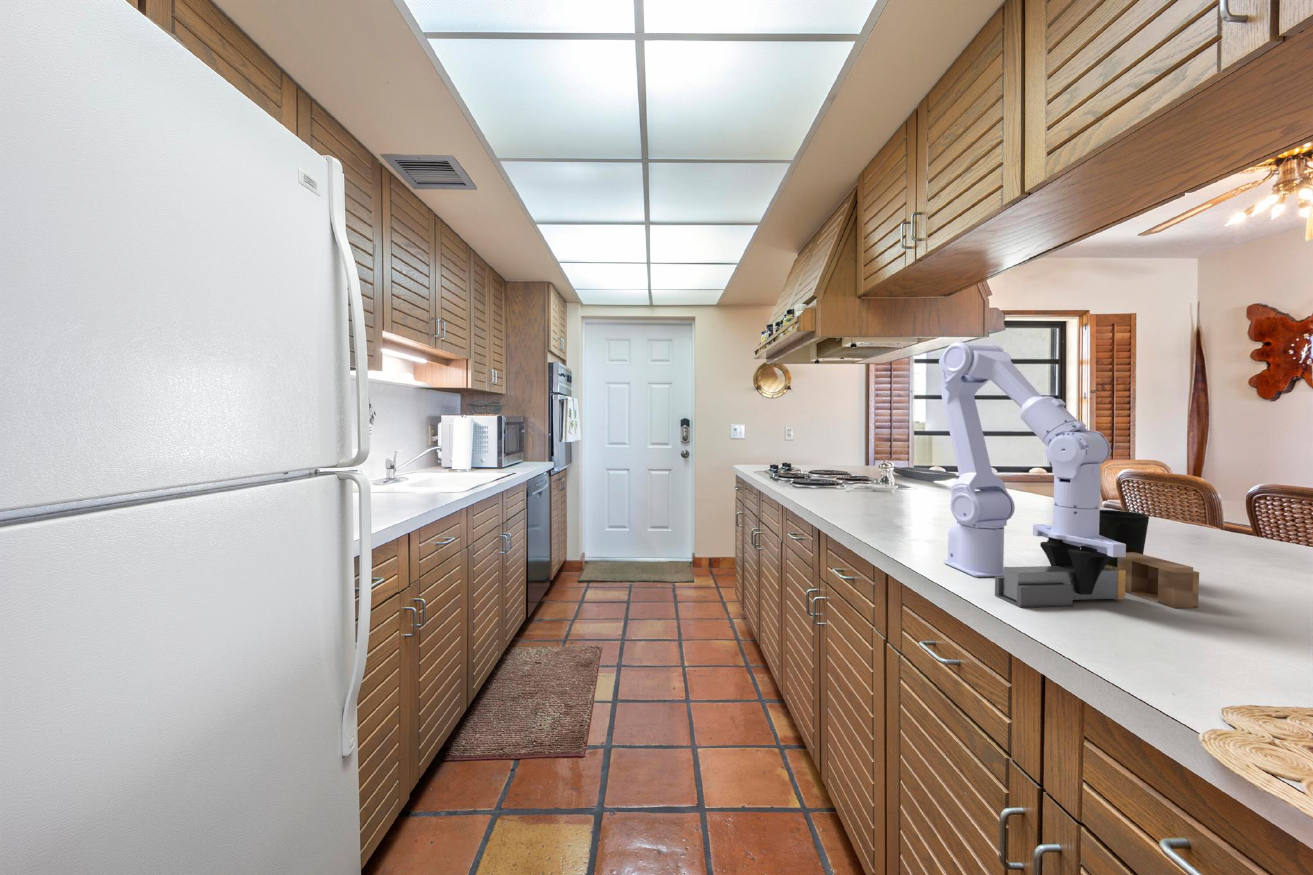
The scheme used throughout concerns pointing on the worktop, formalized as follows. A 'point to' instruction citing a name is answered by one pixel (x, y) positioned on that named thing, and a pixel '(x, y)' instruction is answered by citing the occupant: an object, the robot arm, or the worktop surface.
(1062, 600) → the grey u-shaped channel
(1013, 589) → the bar
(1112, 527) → the cup
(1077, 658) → the worktop surface
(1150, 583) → the socket
